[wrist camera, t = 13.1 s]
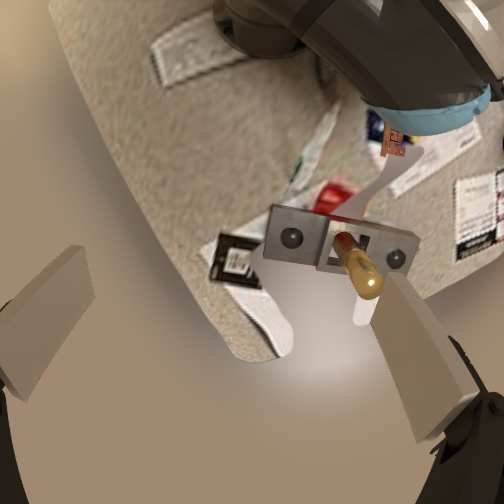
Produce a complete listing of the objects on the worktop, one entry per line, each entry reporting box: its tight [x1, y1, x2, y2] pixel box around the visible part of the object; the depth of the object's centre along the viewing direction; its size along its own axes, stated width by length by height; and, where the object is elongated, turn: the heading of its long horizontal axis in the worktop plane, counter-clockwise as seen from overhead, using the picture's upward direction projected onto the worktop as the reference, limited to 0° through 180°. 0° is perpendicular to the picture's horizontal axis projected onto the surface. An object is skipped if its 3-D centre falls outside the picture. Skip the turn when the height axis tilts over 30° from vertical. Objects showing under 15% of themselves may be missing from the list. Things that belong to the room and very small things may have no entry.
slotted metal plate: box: [263, 204, 421, 280], centre depth 41 cm, size 8×24×4 cm, turn 81°
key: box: [380, 122, 406, 157], centre depth 34 cm, size 6×1×15 cm
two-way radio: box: [489, 76, 504, 102], centre depth 24 cm, size 6×4×15 cm
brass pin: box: [332, 232, 385, 300], centre depth 37 cm, size 4×4×13 cm
